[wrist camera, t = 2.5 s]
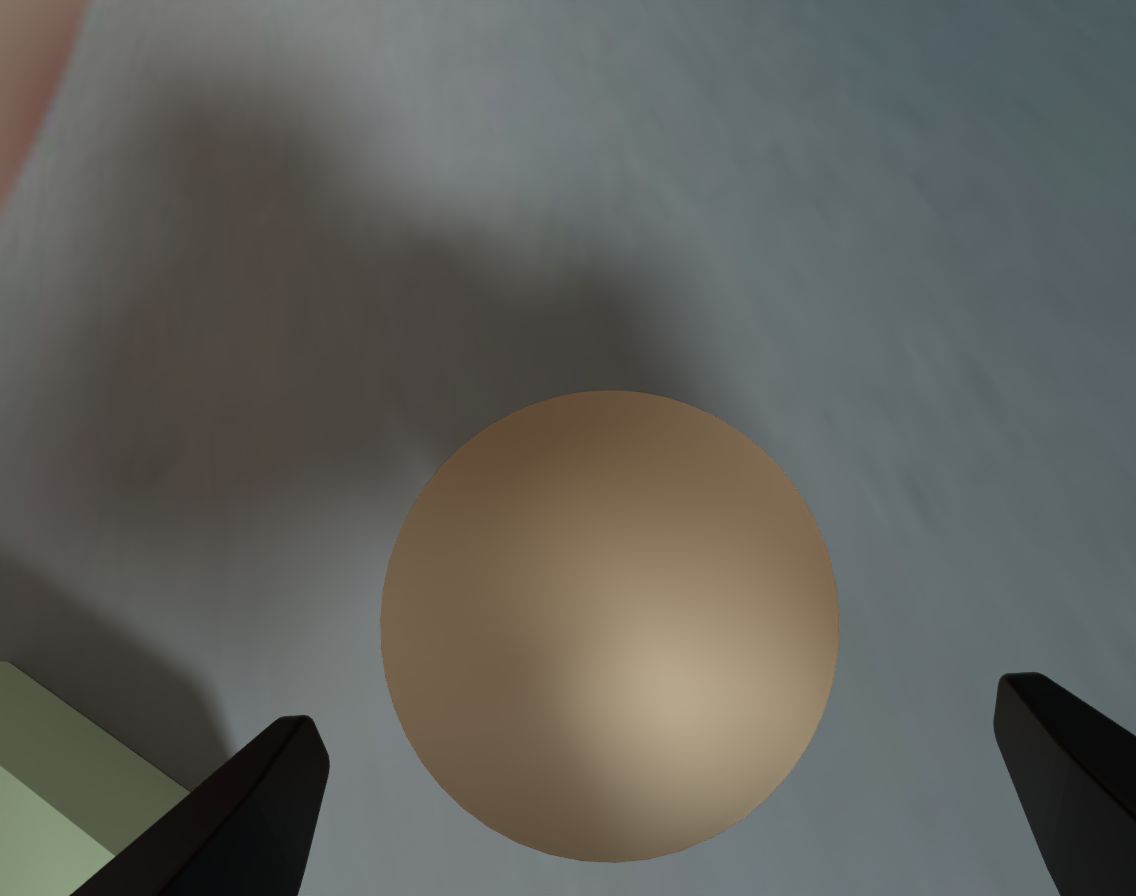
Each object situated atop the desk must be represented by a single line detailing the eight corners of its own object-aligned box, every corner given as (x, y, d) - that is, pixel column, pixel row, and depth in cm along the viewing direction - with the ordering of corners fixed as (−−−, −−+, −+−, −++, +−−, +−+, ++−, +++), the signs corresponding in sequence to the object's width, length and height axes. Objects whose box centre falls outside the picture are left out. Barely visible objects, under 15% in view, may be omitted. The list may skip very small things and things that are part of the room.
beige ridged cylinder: (708, 787, 17) (723, 975, 6) (546, 698, 18) (300, 708, 7) (778, 616, 18) (909, 489, 7) (620, 544, 19) (507, 335, 8)
